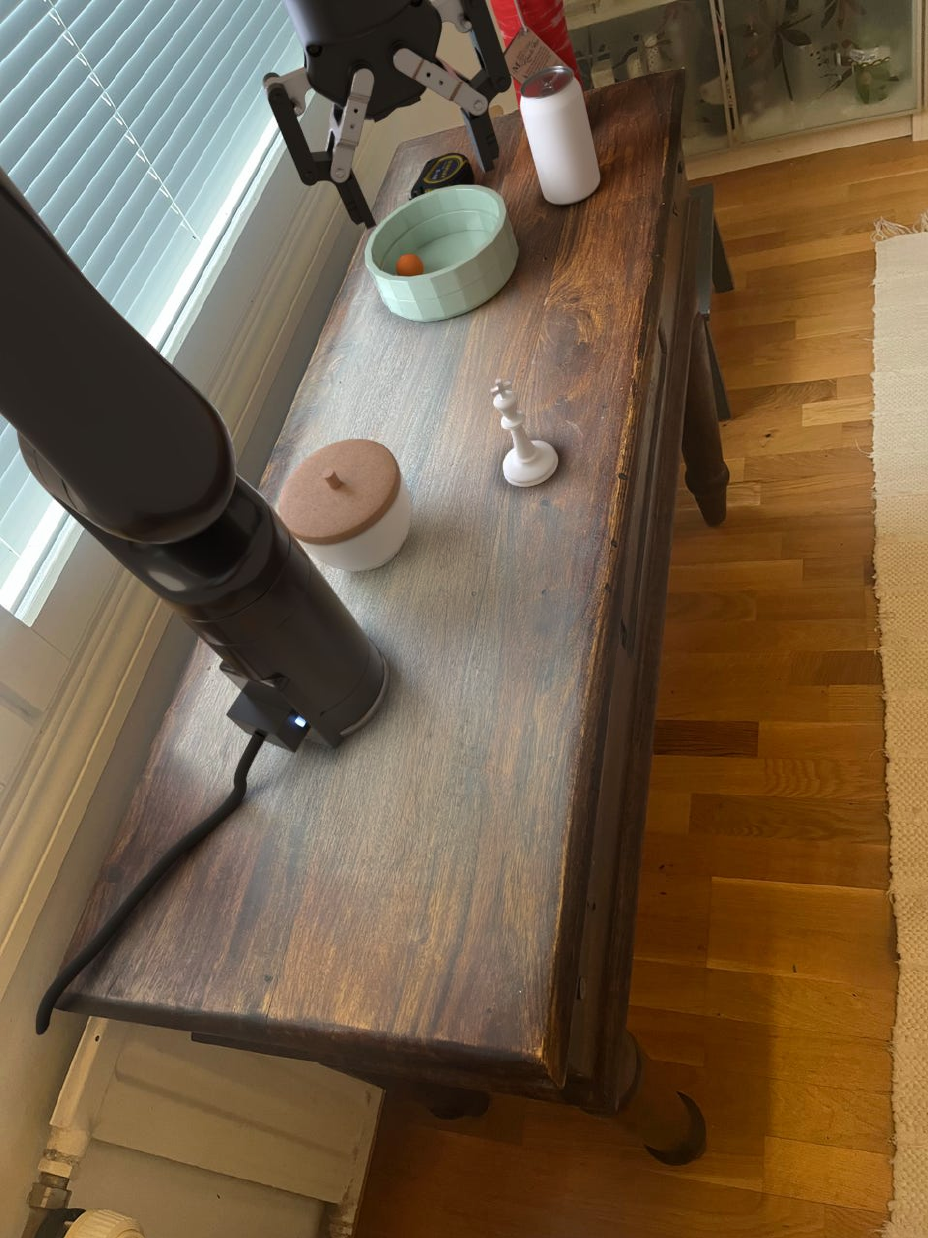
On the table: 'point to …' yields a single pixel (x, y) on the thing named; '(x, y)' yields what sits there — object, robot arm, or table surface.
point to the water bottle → (534, 38)
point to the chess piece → (522, 443)
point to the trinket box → (348, 505)
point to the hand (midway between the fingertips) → (428, 194)
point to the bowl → (444, 252)
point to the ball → (409, 266)
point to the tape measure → (443, 174)
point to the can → (559, 135)
